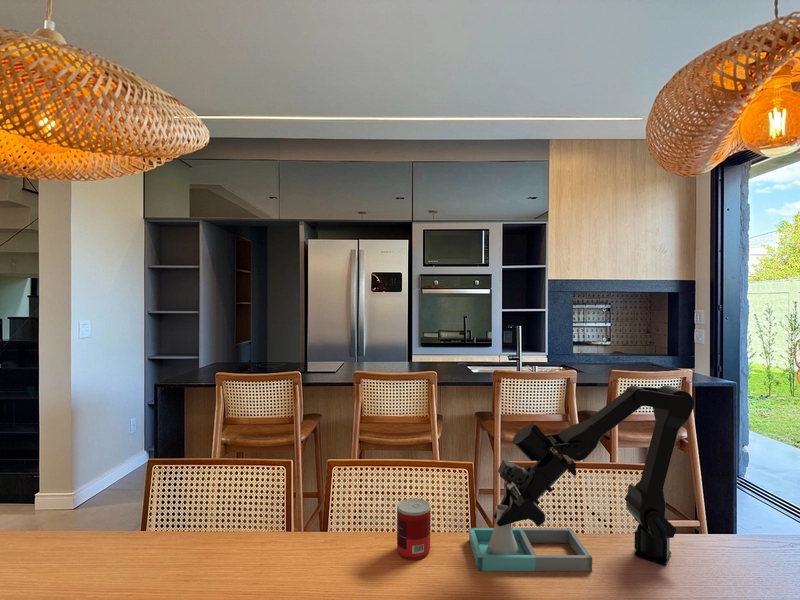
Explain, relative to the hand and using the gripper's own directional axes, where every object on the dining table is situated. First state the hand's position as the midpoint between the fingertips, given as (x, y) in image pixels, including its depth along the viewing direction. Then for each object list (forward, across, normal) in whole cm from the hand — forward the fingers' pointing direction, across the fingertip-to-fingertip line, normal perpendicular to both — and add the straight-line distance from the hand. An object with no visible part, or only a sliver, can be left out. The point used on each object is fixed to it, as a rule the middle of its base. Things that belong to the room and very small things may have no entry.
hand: (496, 521), depth 112 cm
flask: (+4, 0, +6) cm, 7 cm away
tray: (0, 0, +11) cm, 11 cm away
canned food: (+19, -1, -8) cm, 21 cm away
